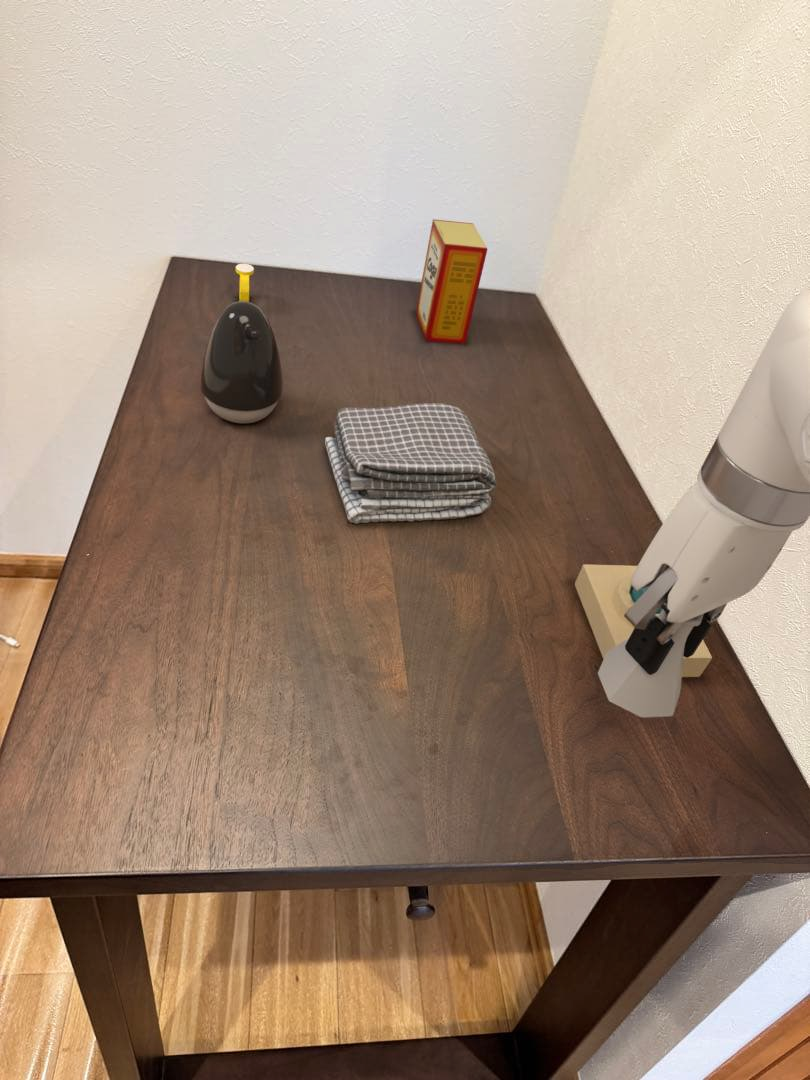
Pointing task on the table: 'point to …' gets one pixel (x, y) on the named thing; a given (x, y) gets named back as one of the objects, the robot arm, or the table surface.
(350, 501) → the towel
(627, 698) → the flask
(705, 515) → the robot arm
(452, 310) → the baking soda box
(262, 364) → the black egg shape
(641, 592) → the teal disc
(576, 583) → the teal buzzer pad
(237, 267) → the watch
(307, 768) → the table surface
